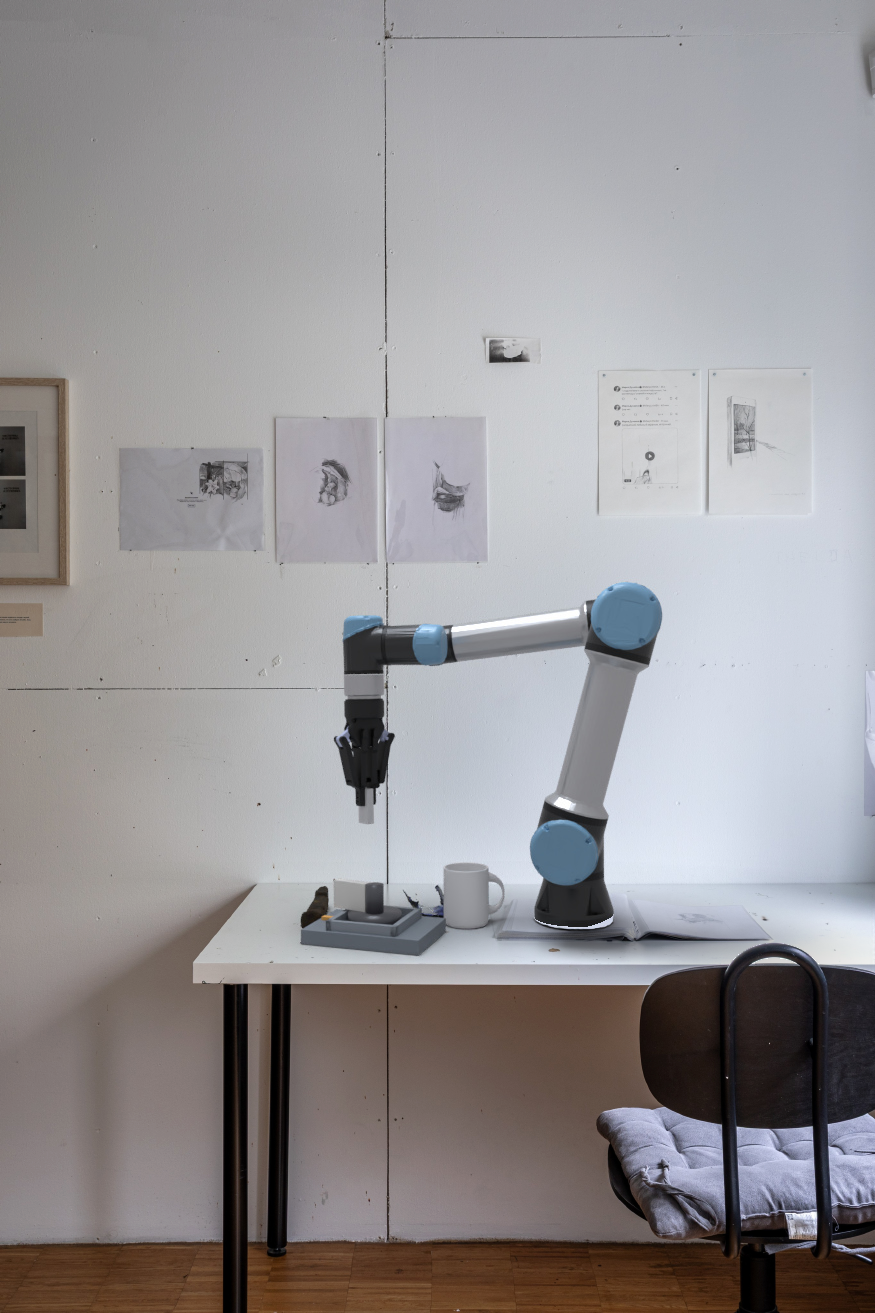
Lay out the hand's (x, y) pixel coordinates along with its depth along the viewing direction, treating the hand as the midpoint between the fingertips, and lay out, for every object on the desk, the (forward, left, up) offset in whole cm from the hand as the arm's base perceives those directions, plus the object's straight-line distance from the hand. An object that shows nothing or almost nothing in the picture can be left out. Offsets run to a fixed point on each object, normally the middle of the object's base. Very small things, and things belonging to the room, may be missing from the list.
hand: (366, 823), depth 176 cm
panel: (-4, +6, -20) cm, 21 cm away
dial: (-2, +6, -17) cm, 18 cm away
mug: (-19, -9, -20) cm, 29 cm away
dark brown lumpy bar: (+12, -3, -20) cm, 24 cm away
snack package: (-9, -13, -20) cm, 25 cm away
